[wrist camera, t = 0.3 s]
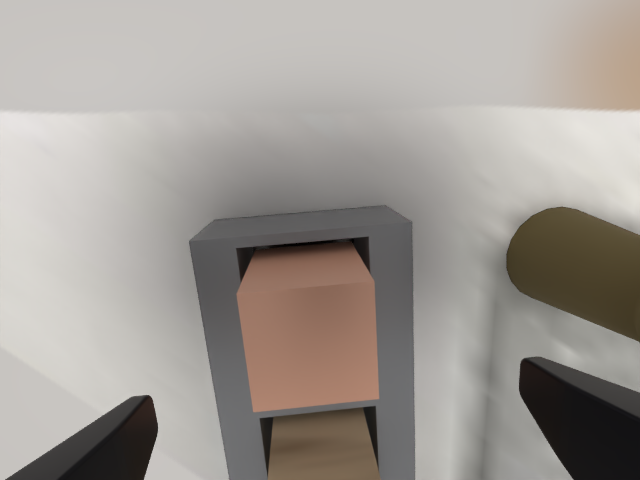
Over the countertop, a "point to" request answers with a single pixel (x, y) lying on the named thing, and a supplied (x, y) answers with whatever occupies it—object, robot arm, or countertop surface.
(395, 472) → the grey socket block
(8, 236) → the countertop surface
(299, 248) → the terracotta key
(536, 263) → the olive brown cylinder
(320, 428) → the oak key
